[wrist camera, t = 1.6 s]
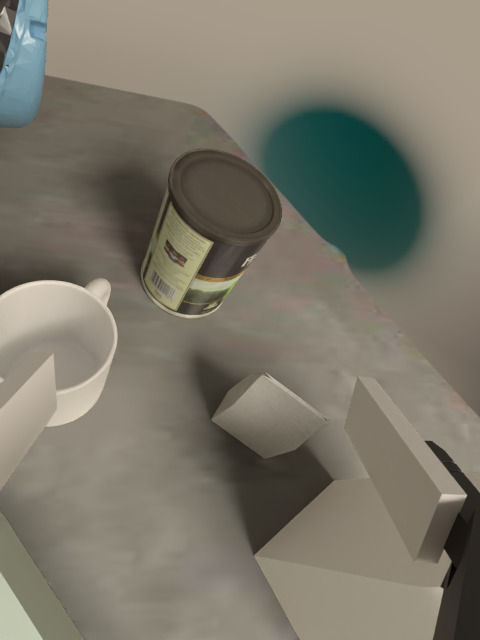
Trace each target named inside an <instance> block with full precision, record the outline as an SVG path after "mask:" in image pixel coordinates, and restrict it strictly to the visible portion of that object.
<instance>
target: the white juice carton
mask: <svg viewBox="0 0 480 640" xmlns="http://www.w3.org/2000/svg"><path fill="white" fill-rule="evenodd" d="M326 420H329V419H328V418H327V417H325V416H324V415H322V414H321V413H320V412H318V411H317V410H316V409H314V408H313V407H312V406H310V405H309V404H308V403H306V402H305V401H304V400H302V399H301V398H300V397H298V396H297V395H296V394H294V393H293V392H291V391H290V390H289V389H287V388H286V387H285V386H283V385H282V384H281V383H279V382H278V381H277V380H275V379H274V378H273V377H271V376H270V375H269V374H267V373H266V372H262V373H258V374H257V373H251V374H250V375H248V376H247V377H246V378H244V379H243V380H242V381H240V382H239V383H238V384H237V385H235V386H234V387H233V388H231V389H230V390H229V391H228V392H227V394H226V396H225V397H224V399H223V401H222V402H221V404H220V405H219V407H218V409H217V410H216V412H215V414H214V415H213V417H212V419H211V421H213V422H214V423H216V424H217V425H218V426H220V427H221V428H222V429H224V430H225V431H227V432H228V433H229V434H231V435H232V436H234V437H235V438H236V439H238V440H239V441H241V442H242V443H243V444H245V445H246V446H247V447H249V448H250V449H252V450H253V451H254V452H256V453H257V454H259V455H260V456H261V457H263V458H264V459H267V458H270V457H273V456H277V455H280V454H283V453H287V452H290V451H293V450H296V449H297V448H298V447H299V446H300V445H302V444H303V443H304V442H305V441H306V440H307V439H309V438H310V437H311V436H312V435H313V434H315V433H316V432H317V431H318V430H320V429H321V428H322V427H324V426H326V425H327V424H328V423H327V421H326Z"/></svg>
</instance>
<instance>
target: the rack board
mask: <svg viewBox="0 0 480 640" xmlns="http://www.w3.org/2000/svg"><path fill="white" fill-rule="evenodd" d="M0 640H84V639H83V637H82V635H81V634H80V632H79V631H78V629H77V628H76V626H75V625H74V623H73V622H72V620H71V618H70V617H69V615H68V614H67V612H66V611H65V609H64V608H63V606H62V605H61V603H60V601H59V600H58V598H57V597H56V595H55V594H54V592H53V591H52V589H51V588H50V586H49V584H48V583H47V581H46V580H45V578H44V577H43V575H42V574H41V572H40V571H39V569H38V567H37V566H36V564H35V563H34V561H33V560H32V558H31V557H30V555H29V554H28V552H27V550H26V549H25V547H24V546H23V544H22V543H21V541H20V540H19V538H18V537H17V535H16V533H15V532H14V530H13V529H12V527H11V526H10V524H9V523H8V521H7V519H6V518H5V516H4V515H3V513H2V512H1V510H0Z"/></svg>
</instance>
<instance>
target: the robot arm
mask: <svg viewBox="0 0 480 640" xmlns="http://www.w3.org/2000/svg"><path fill="white" fill-rule="evenodd" d="M47 17H48V0H0V127H8V128H21V127H24V126H27V125H29V124H30V123H31V122H32V121H33V120H34V119H35V117H36V115H37V113H38V110H39V106H40V102H41V97H42V90H43V83H44V73H45V62H46V37H45V33H46V31H47ZM56 410H57V400H56V385H55V369H54V354H53V353H46V352H33V353H32V354H31V355H30V356H29V357H28V358H27V359H26V360H25V361H24V362H23V363H21V364H20V365H19V366H18V367H17V368H16V369H15V370H14V371H13V372H12V373H11V374H10V375H9V376H8V377H7V378H6V379H4V380H3V381H2V382H1V383H0V491H1V489H2V488H3V486H4V485H5V484H6V482H7V481H8V479H9V478H10V476H11V475H12V474H13V472H14V471H15V469H16V468H17V466H18V465H19V463H20V462H21V461H22V459H23V458H24V456H25V455H26V453H27V452H28V451H29V449H30V448H31V446H32V445H33V443H34V442H35V440H36V439H37V438H38V436H39V435H40V433H41V432H42V430H43V429H44V428H45V426H46V425H47V423H48V422H49V420H50V419H51V417H52V416H53V415H54V413H55V412H56ZM344 428H345V430H346V431H347V433H348V435H349V437H350V439H351V441H352V443H353V445H354V447H355V449H356V451H357V453H358V455H359V457H360V459H361V461H362V463H363V464H364V466H365V468H366V470H367V472H368V474H369V476H370V478H371V480H372V482H373V484H374V486H375V488H376V490H377V492H378V494H379V495H380V497H381V499H382V501H383V503H384V505H385V507H386V509H387V511H388V513H389V515H390V517H391V519H392V521H393V523H394V525H395V527H396V528H397V530H398V532H399V534H400V536H401V538H402V540H403V542H404V544H405V546H406V548H407V550H408V552H409V554H410V556H411V558H412V560H413V561H414V563H433V564H438V562H439V560H440V557H441V555H442V553H443V550H445V551H446V553H447V555H448V556H449V558H450V559H451V561H452V562H451V564H450V566H449V568H448V571H447V573H446V575H445V577H444V579H443V582H442V584H441V586H440V587H441V588H443V589H444V590H443V595H442V599H441V604H440V609H439V613H438V618H437V623H436V627H435V632H434V636H433V640H480V492H479V491H478V490H477V489H476V487H475V486H474V485H473V484H472V483H471V481H470V480H469V479H468V478H467V477H466V476H465V474H464V473H462V472H461V470H460V468H459V467H458V466H457V465H456V464H454V461H453V460H452V459H451V458H450V456H449V455H448V454H447V453H446V452H445V451H444V450H443V449H442V448H440V447H439V446H438V445H436V444H435V443H434V442H432V441H424V440H423V439H422V438H421V436H420V435H419V434H418V433H417V431H416V430H415V429H414V428H413V426H412V425H411V424H410V422H409V421H408V420H407V419H406V417H405V416H404V415H403V414H402V412H401V411H400V410H399V409H398V407H397V406H396V405H395V404H394V402H393V401H392V400H391V399H390V397H389V396H388V395H387V394H386V392H385V391H384V390H383V388H382V387H381V386H380V385H379V383H378V382H377V381H376V380H375V378H372V377H359V376H358V377H357V381H356V384H355V388H354V392H353V396H352V400H351V404H350V408H349V412H348V415H347V419H346V423H345V427H344Z"/></svg>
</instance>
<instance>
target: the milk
mask: <svg viewBox="0 0 480 640" xmlns="http://www.w3.org/2000/svg"><path fill="white" fill-rule="evenodd" d="M464 474H465V476H466V477H467V478H468V479H469V480H470V481H471V483H472V484H473V485H474V486H475V487H476V489H477V490H478V491H479V492H480V472H467V473H464ZM254 557H255V559H256V561H257V563H258V564H259V566H260V568H261V570H262V572H263V574H264V575H265V577H266V579H267V581H268V583H269V585H270V586H271V588H272V590H273V592H274V594H275V596H276V597H277V599H278V601H279V603H280V605H281V607H282V608H283V610H284V612H285V614H286V616H287V618H288V619H289V621H290V623H291V625H292V627H293V629H294V630H295V632H296V634H297V636H298V638H299V640H433V636H434V632H435V627H436V623H437V618H438V613H439V609H440V604H441V599H442V595H443V590H444V589H443V588H441V587H440V586H441V584H442V582H443V579H444V577H445V575H446V573H447V571H448V568H449V566H450V564H451V562H452V561H451V559H450V558H449V556H448V555H447V553H446V551H445V550H443V553H442V555H441V557H440V560H439V562H438V564H433V563H414V561H413V560H412V558H411V556H410V554H409V552H408V550H407V548H406V546H405V544H404V542H403V540H402V538H401V536H400V534H399V532H398V530H397V528H396V527H395V525H394V523H393V521H392V519H391V517H390V515H389V513H388V511H387V509H386V507H385V505H384V503H383V501H382V499H381V497H380V495H379V494H378V492H377V490H376V488H375V486H374V484H373V482H372V480H371V478H365V479H348V480H334V481H333V482H332V483H331V484H330V485H329V486H328V487H327V488H326V489H324V490H323V491H322V492H321V493H320V494H319V495H318V496H317V497H316V498H315V499H314V500H313V501H312V502H311V503H309V504H308V505H307V506H306V507H305V508H304V509H303V510H302V511H301V512H300V513H299V514H298V515H297V516H296V517H294V518H293V519H292V520H291V521H290V522H289V523H288V524H287V525H286V526H285V527H284V528H283V529H282V530H281V531H279V532H278V533H277V534H276V535H275V536H274V537H273V538H272V539H271V540H270V541H269V542H268V543H267V544H266V545H264V546H263V547H262V548H261V549H260V550H259V551H258V552H257V553H256V554H255V555H254Z"/></svg>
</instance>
